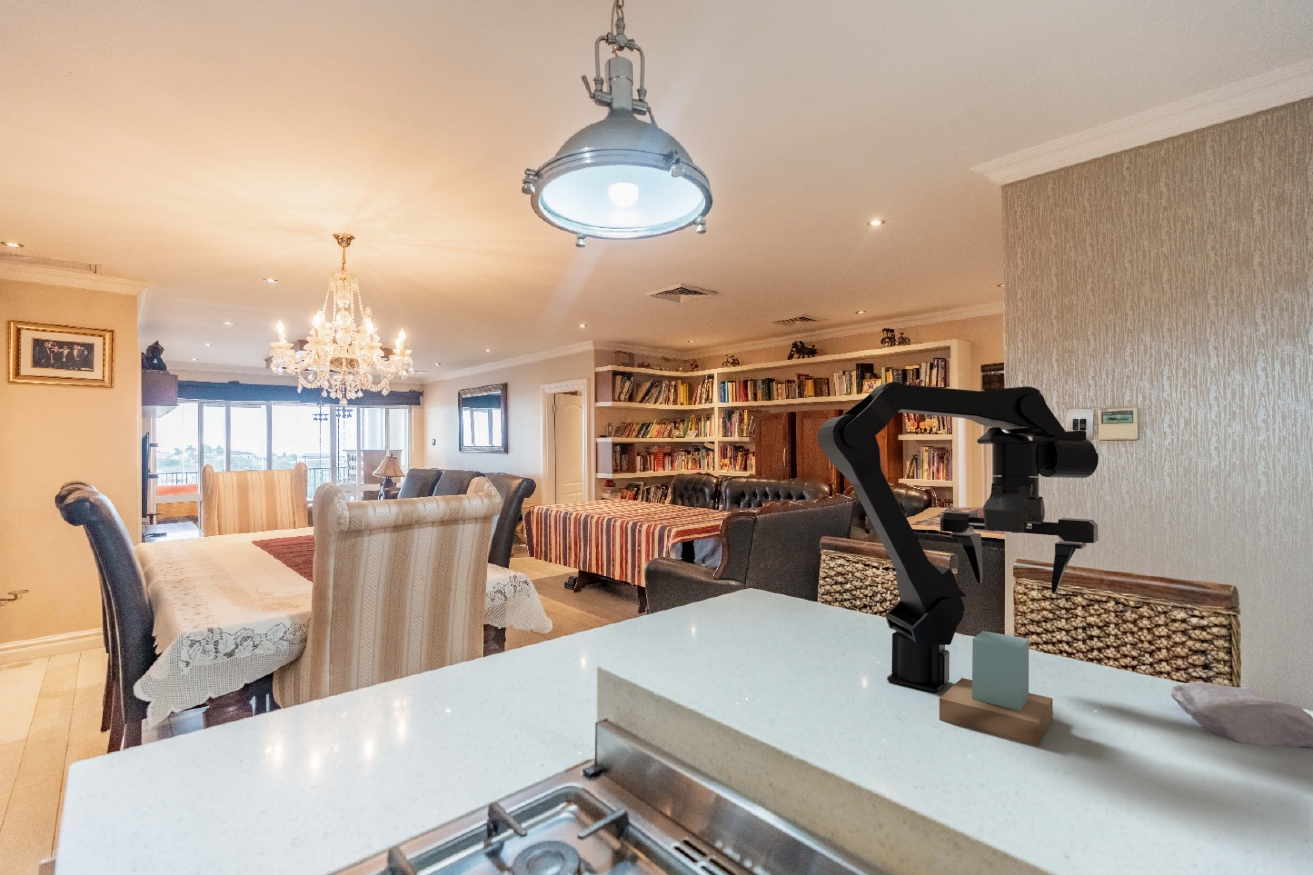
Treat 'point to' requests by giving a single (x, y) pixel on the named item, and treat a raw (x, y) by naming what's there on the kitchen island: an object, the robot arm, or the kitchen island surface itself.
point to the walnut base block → (997, 714)
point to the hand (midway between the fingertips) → (1015, 587)
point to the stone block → (1245, 715)
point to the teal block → (1000, 670)
